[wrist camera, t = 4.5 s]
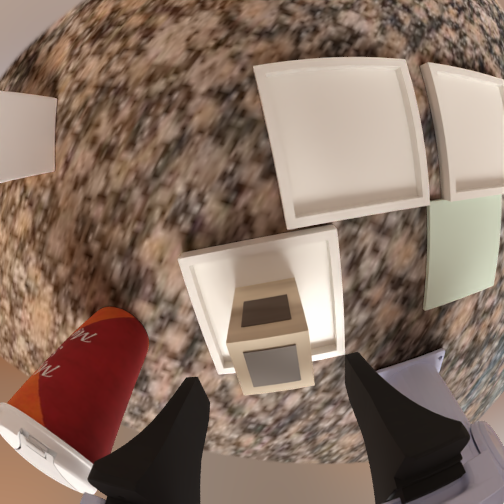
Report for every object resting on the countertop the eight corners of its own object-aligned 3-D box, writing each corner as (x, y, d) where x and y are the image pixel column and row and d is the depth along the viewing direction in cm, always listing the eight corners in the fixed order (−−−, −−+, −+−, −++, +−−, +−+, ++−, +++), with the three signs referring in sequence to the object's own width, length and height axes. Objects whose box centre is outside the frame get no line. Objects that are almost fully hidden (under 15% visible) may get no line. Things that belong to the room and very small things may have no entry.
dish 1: (421, 201, 16) (430, 205, 15) (285, 225, 17) (287, 229, 16) (397, 63, 13) (405, 59, 12) (253, 72, 14) (253, 66, 13)
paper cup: (91, 277, 19) (-25, 394, 6) (174, 325, 20) (106, 489, 7) (79, 339, 21) (3, 444, 8) (147, 379, 22) (97, 504, 9)
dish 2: (341, 345, 20) (344, 354, 19) (220, 364, 21) (218, 374, 20) (331, 224, 17) (336, 229, 16) (182, 252, 18) (177, 258, 17)
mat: (490, 283, 18) (493, 285, 18) (422, 308, 19) (424, 310, 19) (498, 190, 16) (501, 191, 15) (426, 201, 16) (429, 201, 16)
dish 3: (512, 189, 15) (520, 191, 14) (441, 198, 16) (450, 201, 15) (497, 81, 12) (506, 80, 11) (419, 66, 13) (427, 62, 12)
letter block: (301, 325, 19) (314, 385, 14) (247, 334, 20) (244, 396, 14) (294, 276, 18) (308, 330, 12) (235, 287, 18) (225, 343, 13)
